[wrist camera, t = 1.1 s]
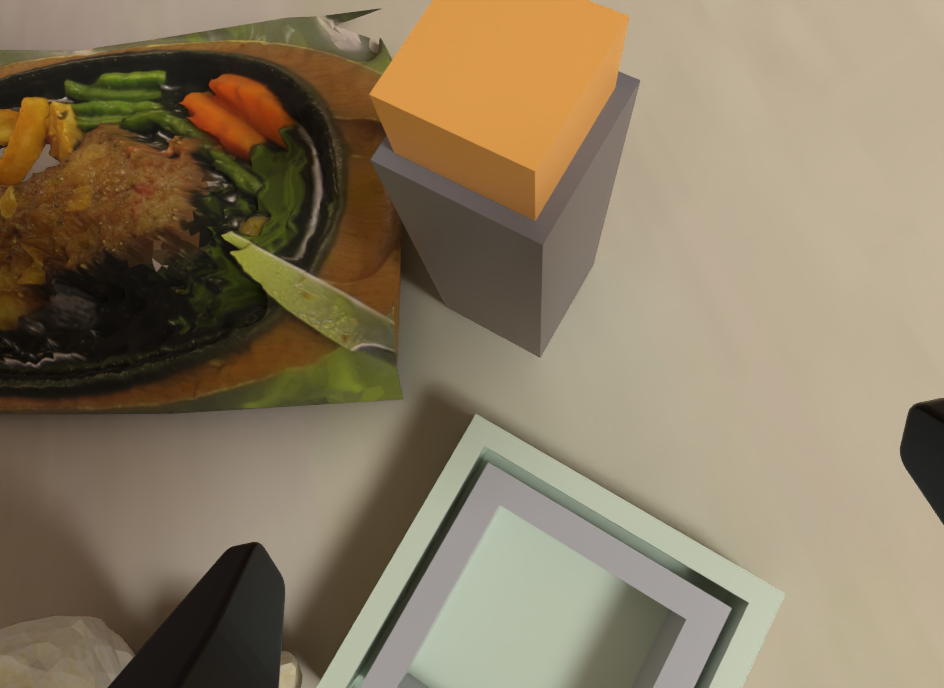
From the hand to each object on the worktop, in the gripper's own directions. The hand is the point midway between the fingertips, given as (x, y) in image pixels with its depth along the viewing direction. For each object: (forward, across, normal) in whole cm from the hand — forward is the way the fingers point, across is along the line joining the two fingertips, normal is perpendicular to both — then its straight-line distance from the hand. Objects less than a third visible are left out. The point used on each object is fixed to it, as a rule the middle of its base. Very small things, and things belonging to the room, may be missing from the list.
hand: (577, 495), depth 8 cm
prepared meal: (+21, +17, 0) cm, 27 cm away
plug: (+16, 0, +4) cm, 16 cm away
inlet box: (+6, +2, +13) cm, 15 cm away
